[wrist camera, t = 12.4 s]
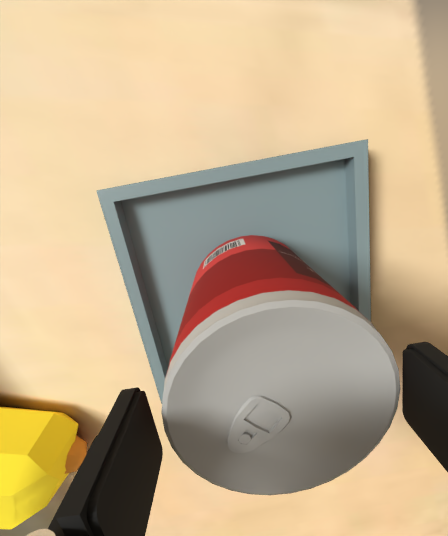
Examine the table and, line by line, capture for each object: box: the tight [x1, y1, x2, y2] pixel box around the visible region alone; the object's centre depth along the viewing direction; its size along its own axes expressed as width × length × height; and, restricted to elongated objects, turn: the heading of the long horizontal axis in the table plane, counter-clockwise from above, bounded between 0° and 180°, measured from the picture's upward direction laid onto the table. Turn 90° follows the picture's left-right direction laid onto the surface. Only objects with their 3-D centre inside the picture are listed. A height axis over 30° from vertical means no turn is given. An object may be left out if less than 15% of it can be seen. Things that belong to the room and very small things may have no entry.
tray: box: [97, 139, 371, 403], centre depth 19 cm, size 16×16×2 cm
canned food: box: [162, 235, 400, 495], centre depth 14 cm, size 8×8×11 cm
